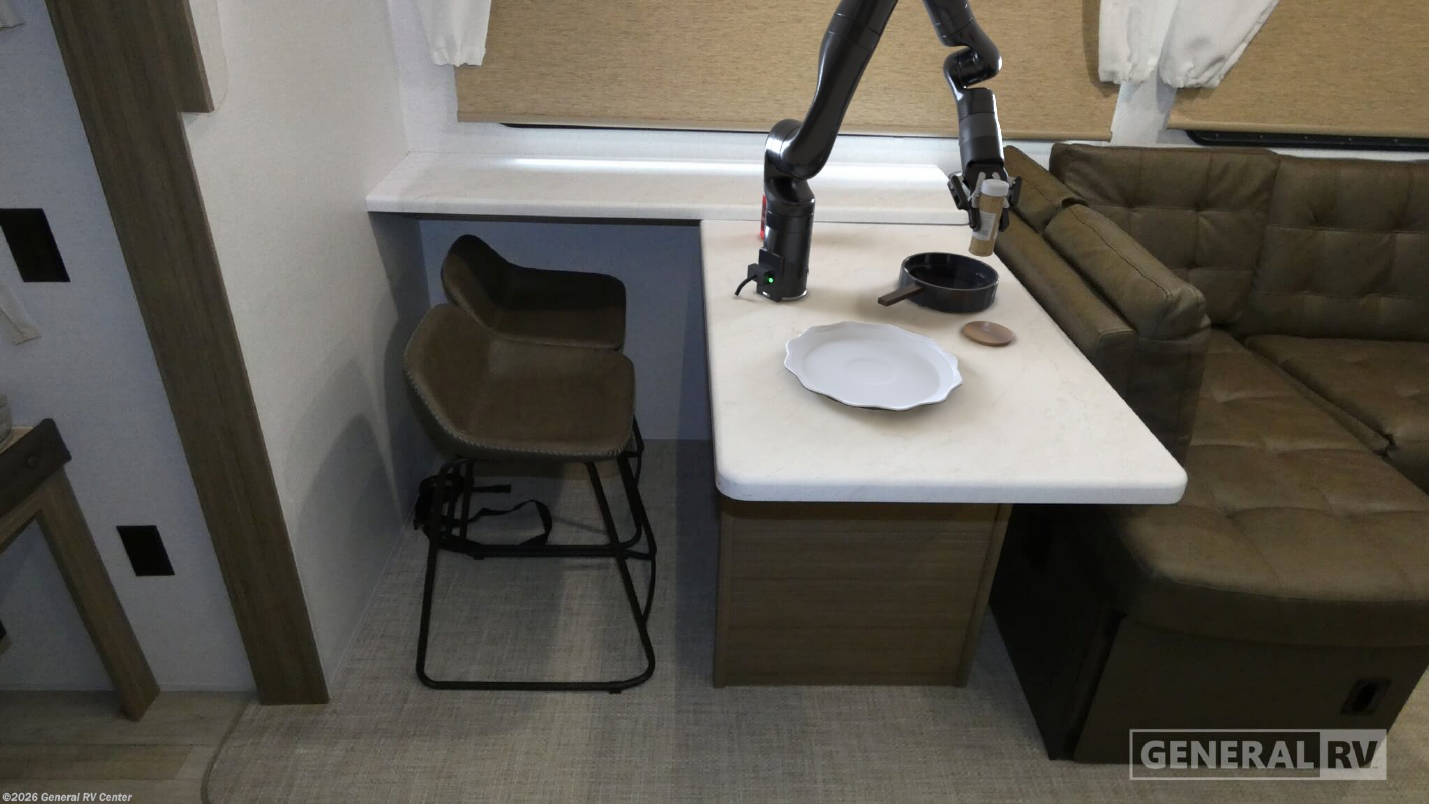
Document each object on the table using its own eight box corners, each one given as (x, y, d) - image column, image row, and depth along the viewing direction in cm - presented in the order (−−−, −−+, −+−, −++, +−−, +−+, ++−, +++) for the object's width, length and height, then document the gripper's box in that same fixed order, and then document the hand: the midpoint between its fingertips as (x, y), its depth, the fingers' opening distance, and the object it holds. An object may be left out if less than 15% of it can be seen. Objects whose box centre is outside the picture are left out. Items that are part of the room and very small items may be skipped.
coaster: (994, 350, 150) (995, 348, 149) (953, 332, 155) (953, 329, 155) (1022, 336, 155) (1022, 334, 155) (980, 319, 160) (981, 316, 160)
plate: (754, 347, 147) (755, 335, 146) (894, 323, 157) (896, 311, 156) (839, 436, 125) (841, 423, 123) (996, 401, 135) (999, 388, 134)
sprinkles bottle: (997, 255, 155) (1014, 184, 148) (981, 259, 153) (997, 187, 146) (978, 246, 158) (994, 176, 151) (962, 251, 156) (977, 180, 149)
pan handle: (913, 288, 164) (914, 283, 163) (922, 292, 162) (923, 287, 161) (877, 303, 157) (878, 297, 157) (886, 307, 156) (887, 301, 155)
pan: (956, 322, 159) (962, 298, 156) (878, 288, 171) (882, 265, 168) (1012, 297, 170) (1018, 274, 167) (935, 266, 182) (939, 245, 179)
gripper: (950, 133, 150) (960, 221, 147) (1026, 134, 152) (1037, 221, 148) (936, 154, 158) (944, 238, 154) (1008, 155, 159) (1018, 238, 156)
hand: (990, 229), depth 151 cm, fingers closed on sprinkles bottle, 4 cm apart
